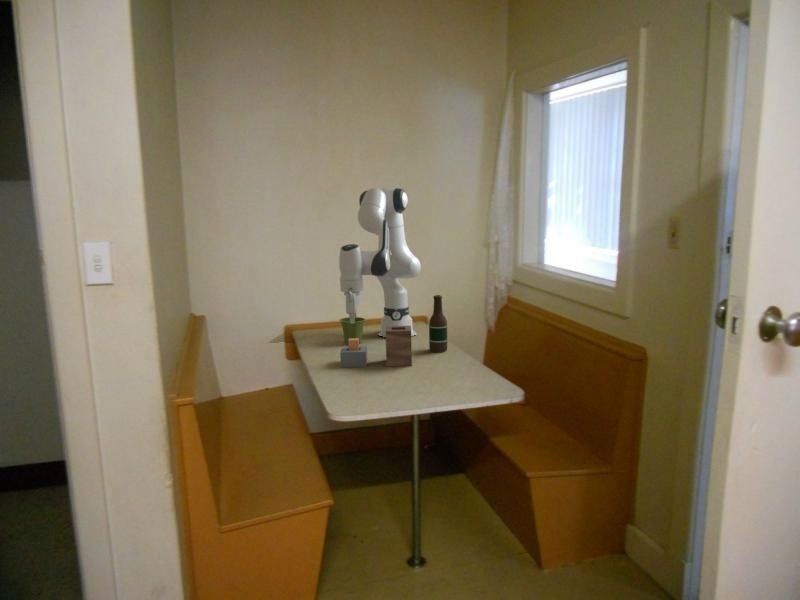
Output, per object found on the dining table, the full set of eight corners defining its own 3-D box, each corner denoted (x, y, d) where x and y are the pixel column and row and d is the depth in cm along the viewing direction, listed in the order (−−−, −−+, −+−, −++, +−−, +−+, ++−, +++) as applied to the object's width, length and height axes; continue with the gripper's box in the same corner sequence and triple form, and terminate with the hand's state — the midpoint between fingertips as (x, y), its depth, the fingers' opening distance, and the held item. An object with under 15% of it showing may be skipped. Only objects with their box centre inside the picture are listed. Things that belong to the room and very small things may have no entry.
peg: (349, 357, 242) (348, 338, 240) (359, 357, 242) (358, 338, 240) (349, 359, 239) (348, 340, 237) (359, 359, 239) (358, 340, 237)
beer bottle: (438, 353, 253) (437, 297, 249) (425, 350, 259) (424, 295, 255) (451, 350, 258) (450, 295, 254) (438, 347, 264) (438, 293, 260)
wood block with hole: (387, 359, 245) (386, 326, 243) (411, 358, 245) (410, 325, 243) (386, 366, 235) (385, 331, 233) (411, 365, 235) (411, 330, 233)
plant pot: (363, 346, 268) (362, 322, 266) (337, 346, 270) (336, 321, 268) (368, 340, 280) (368, 316, 278) (344, 340, 282) (343, 316, 280)
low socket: (343, 360, 245) (342, 346, 244) (367, 360, 245) (367, 345, 244) (340, 367, 236) (340, 352, 235) (366, 366, 236) (365, 351, 235)
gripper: (357, 290, 225) (359, 326, 228) (361, 282, 245) (362, 315, 248) (341, 290, 225) (343, 326, 228) (345, 282, 245) (347, 315, 248)
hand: (353, 320), depth 238 cm, fingers open, 8 cm apart
